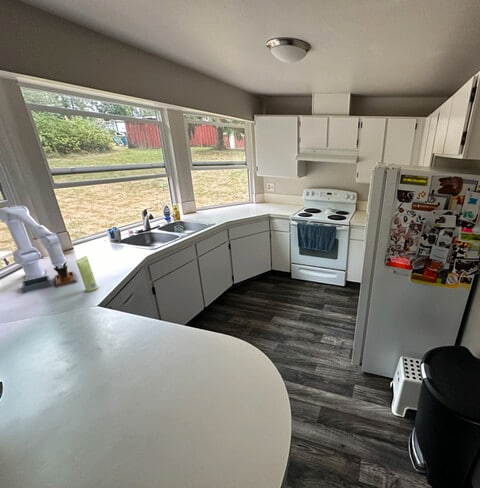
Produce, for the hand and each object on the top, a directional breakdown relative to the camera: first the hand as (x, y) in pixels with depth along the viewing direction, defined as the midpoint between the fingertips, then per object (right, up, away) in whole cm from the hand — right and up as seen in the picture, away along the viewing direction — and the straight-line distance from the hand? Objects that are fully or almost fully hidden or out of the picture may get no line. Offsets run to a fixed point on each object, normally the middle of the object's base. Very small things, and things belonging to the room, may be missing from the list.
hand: (64, 275), depth 150 cm
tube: (+24, -7, -7) cm, 26 cm away
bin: (-9, -6, -6) cm, 12 cm away
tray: (0, -3, +1) cm, 3 cm away
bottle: (0, -3, +1) cm, 3 cm away
